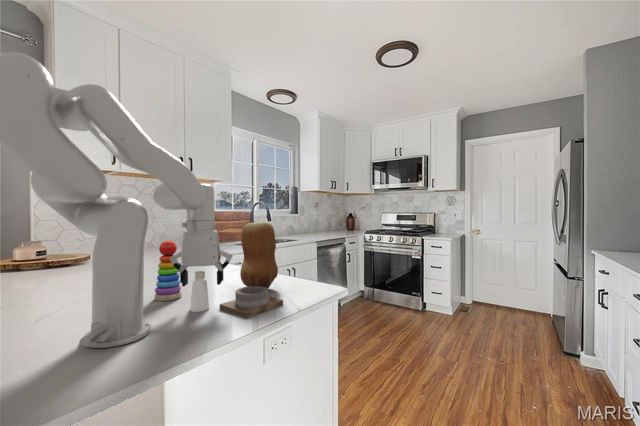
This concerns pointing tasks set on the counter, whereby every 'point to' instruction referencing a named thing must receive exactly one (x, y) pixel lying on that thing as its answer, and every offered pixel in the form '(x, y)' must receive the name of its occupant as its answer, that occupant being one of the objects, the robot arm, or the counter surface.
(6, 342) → the counter surface
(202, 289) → the pepper shaker
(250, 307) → the shaft housing
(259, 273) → the butternut squash
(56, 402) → the counter surface
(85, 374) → the counter surface
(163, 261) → the stacking toy
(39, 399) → the counter surface
